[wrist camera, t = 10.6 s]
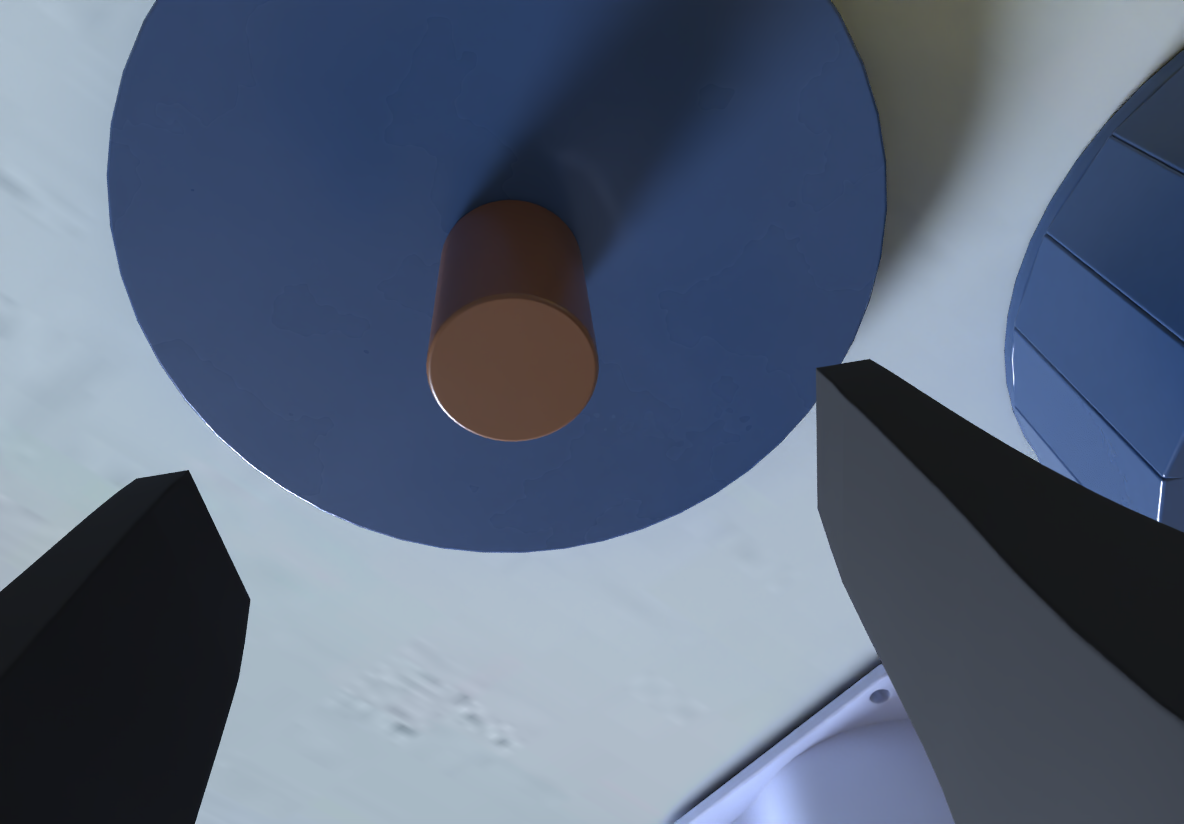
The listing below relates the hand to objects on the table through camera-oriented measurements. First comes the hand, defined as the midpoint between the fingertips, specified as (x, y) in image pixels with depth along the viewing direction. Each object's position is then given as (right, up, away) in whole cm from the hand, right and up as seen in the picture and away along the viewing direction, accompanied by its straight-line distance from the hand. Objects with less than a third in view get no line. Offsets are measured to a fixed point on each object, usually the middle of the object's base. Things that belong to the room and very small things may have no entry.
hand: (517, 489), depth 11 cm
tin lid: (-1, +4, +6) cm, 7 cm away
